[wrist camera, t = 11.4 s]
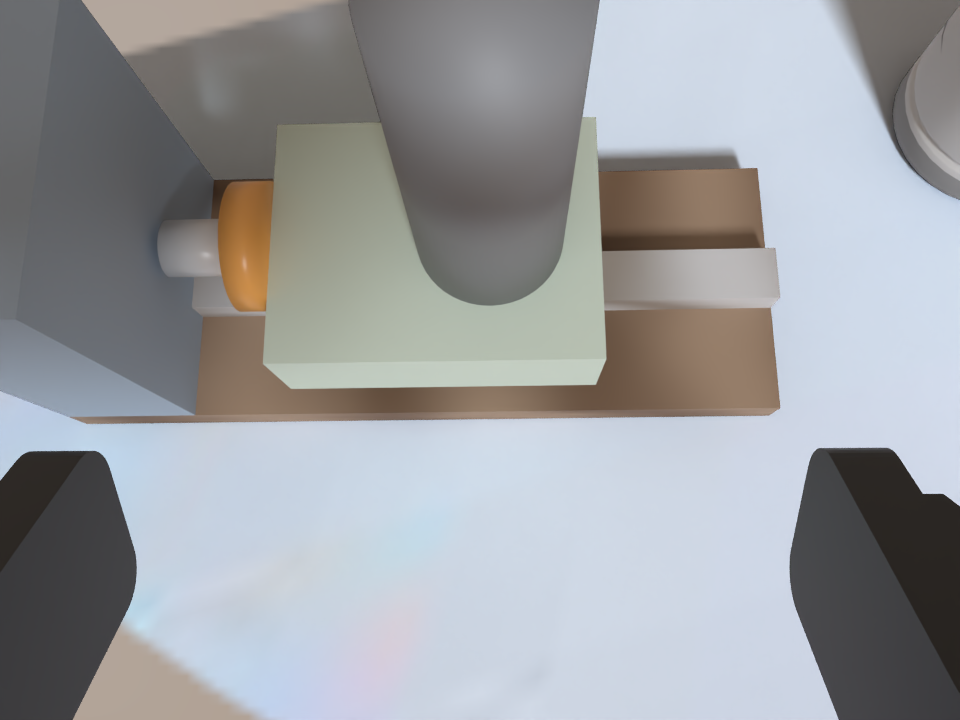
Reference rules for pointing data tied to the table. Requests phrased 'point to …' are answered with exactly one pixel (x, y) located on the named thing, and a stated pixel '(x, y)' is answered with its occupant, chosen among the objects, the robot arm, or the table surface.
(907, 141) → the travel mug
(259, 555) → the table surface
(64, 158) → the end cabinet
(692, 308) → the track
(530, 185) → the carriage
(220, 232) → the button
